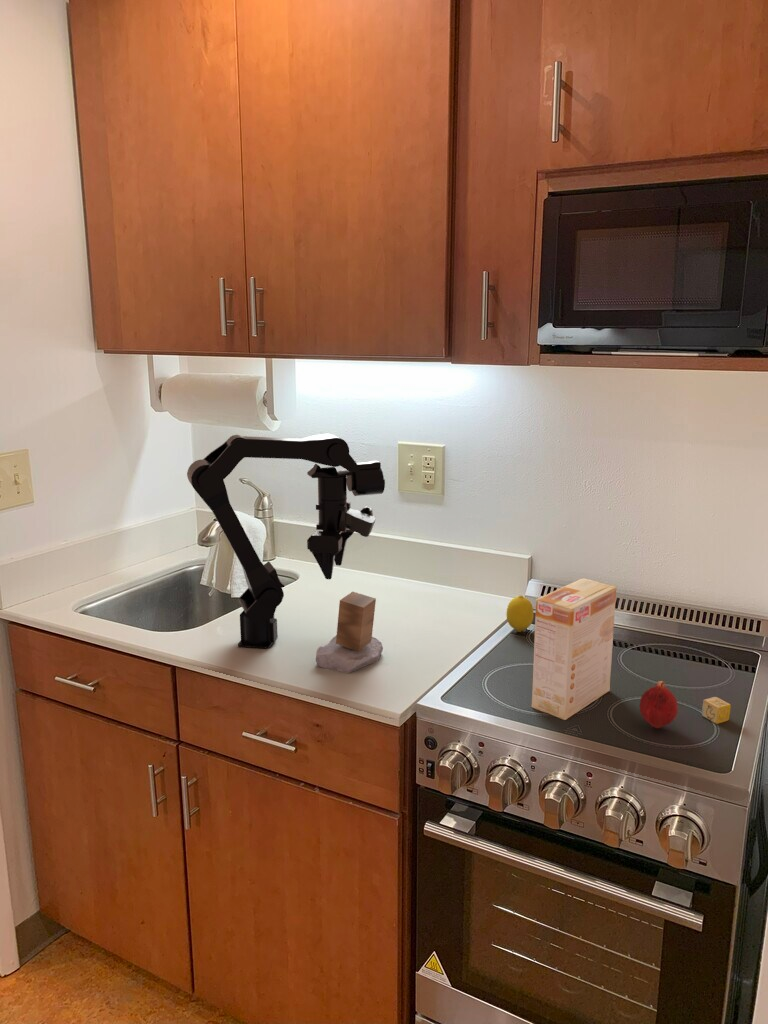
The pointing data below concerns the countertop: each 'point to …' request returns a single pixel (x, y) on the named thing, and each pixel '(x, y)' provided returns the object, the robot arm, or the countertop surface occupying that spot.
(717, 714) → the alphabet block
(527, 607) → the lemon
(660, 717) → the onion
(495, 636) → the countertop surface
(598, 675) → the coffeecake box
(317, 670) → the countertop surface
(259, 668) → the countertop surface
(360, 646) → the walnut block
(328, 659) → the lilac crinkled slab
